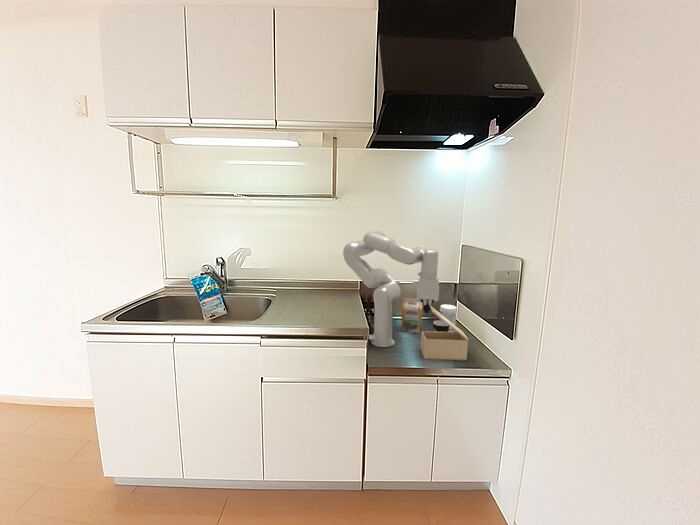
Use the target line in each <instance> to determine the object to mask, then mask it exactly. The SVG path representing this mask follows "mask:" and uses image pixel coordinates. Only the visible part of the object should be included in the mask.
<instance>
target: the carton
mask: <svg viewBox="0 0 700 525" xmlns="http://www.w3.org/2000/svg"><path fill="white" fill-rule="evenodd" d="M420 334H421V339H420V352H421V354H422V357H423V359H424V360H434V361H435V360H438V361H464V360H465V361H467V360H468V347H469V340H467V339H465V338H464V337H463V336H462V335H460V334H459V333H458V332H457V331H454V332H434V330H433V331H431V330H429V331H427V330H425V331H424V330H421V333H420Z"/></svg>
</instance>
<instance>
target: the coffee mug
mask: <svg viewBox="0 0 700 525" xmlns="http://www.w3.org/2000/svg"><path fill="white" fill-rule="evenodd" d="M432 324H433V331H434V332H448V331H449V325H448V324H447V323H445V322H444V321H439V320H434V321H433V323H432Z"/></svg>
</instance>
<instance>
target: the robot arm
mask: <svg viewBox="0 0 700 525" xmlns="http://www.w3.org/2000/svg"><path fill="white" fill-rule="evenodd" d="M375 251H377V252H381V253H383V254H384V255H387V256H388V257H390V258H391V259H392V260H394V261H396V262H399V263H401V264H404V265H409V266H411V265H415V264H419V263H421V265H420V271H419V272H417V276H419V277H418V282H417V286H416V287H417V288H416V297H415V299H416V300H418V301H421V302H422V312H424V314H429V312H430V311H431V309H430V306H432V304H433V303H435V302H439V301H440V300H439V298H440V297H439V296H440V283H439V282H440V281H439V278H437V277H438V266H439V252H438V250H436V249H432V248H431V249H430V248H429V249H427V248H423V247H412V248H411V247H410V248H407V247H404V246H401V245H398V244H397V243H396V240H395V238H392V237H389V236H387V235H386V234H385V233H384V232H383V231H380V230H379V231H378V230H377V231H369V232H366V234H364V236H363V239H362V240H356V241H351V242H348V243H347V244H346V245H345V246H344V247H343V252H342V253H343V254H342V256H343V259H344V261H345V263H346V264H347V266H349V268H350V269H351V270H352V271H353V272H354V273H355V274H356V276H357V277H358V278H359V280H361V282H362V283H363V284H364V285H365V286H366V287H367V288H368V289H369V288H370V289H372V288H373V289H374V288H375V289H374V291H373V295H372V296H373V297H372V298H373V302H374V324H373V325H374V330H373V334H368V335H369V340H368V341H370V342H371V343H370V344H372V345H373V346H376V347H378V348H389V347H392V346H394V345H395V344H396V341H395V340H394V338H393V315H394V314H393V313H394V312H393V310H394V309H393V305H392V302H393V301H395V300H397V299H399V297H400V296H401V293H402V291H401V290H402V289H401V287H400V285H399V283H397V282H396V280H394V278H393V277H392V276H391V275H390V274H389V273H388V271H387V270H385V269H383V268H380V267H376V268H373V267H372V266H371V265H370V264H369V263H368V262H367V261H366V260H365V259H363V258H362V256H367V255H369V254H372V253H373V252H375Z"/></svg>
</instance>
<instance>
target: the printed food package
mask: <svg viewBox="0 0 700 525" xmlns="http://www.w3.org/2000/svg"><path fill="white" fill-rule="evenodd" d="M422 316H423V303H422V302H421V301H418V300H416V298H406V297H404V298H403V302H402V308H401V325H400V326H401V327H400V328H401V330H400V331H401V333H405V332H407V333H408V334H414V333H416V334H417V335H420V334H421V332H422V320H423V317H422ZM407 333H406V334H407Z"/></svg>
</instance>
